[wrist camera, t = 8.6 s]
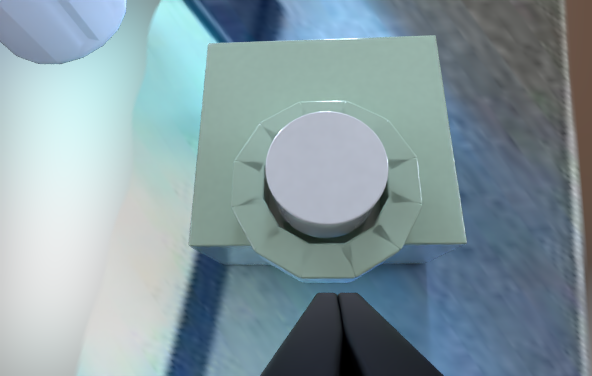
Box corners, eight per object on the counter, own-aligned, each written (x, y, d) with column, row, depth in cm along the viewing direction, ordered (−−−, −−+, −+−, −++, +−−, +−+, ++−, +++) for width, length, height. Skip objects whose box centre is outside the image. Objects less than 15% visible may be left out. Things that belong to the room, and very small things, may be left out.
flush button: (382, 237, 13) (393, 224, 11) (270, 238, 13) (263, 225, 11) (374, 136, 14) (384, 109, 13) (273, 138, 15) (266, 112, 13)
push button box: (429, 291, 19) (495, 277, 12) (220, 292, 20) (166, 279, 13) (407, 100, 23) (448, 4, 16) (232, 105, 23) (196, 14, 16)
